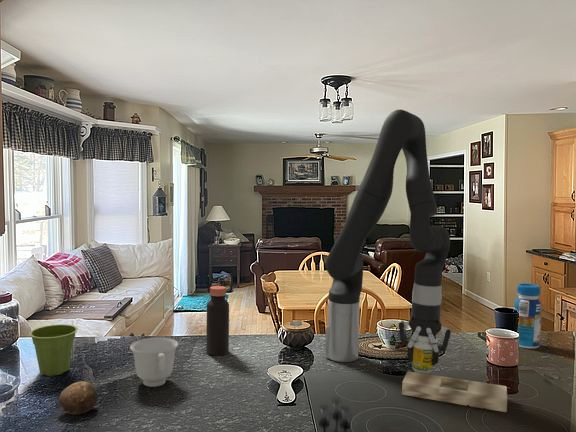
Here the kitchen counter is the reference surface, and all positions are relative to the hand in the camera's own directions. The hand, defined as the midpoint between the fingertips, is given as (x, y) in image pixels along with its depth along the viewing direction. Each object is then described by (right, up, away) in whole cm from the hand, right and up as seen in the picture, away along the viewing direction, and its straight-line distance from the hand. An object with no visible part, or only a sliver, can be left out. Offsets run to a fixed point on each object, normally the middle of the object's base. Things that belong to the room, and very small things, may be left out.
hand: (422, 362), depth 137 cm
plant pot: (-99, -3, +1) cm, 99 cm away
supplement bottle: (0, -2, 0) cm, 2 cm away
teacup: (-70, -4, -7) cm, 70 cm away
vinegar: (-58, -2, +19) cm, 61 cm away
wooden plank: (+5, -5, -11) cm, 13 cm away
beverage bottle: (+42, -3, +31) cm, 53 cm away
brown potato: (-84, -5, -21) cm, 86 cm away
